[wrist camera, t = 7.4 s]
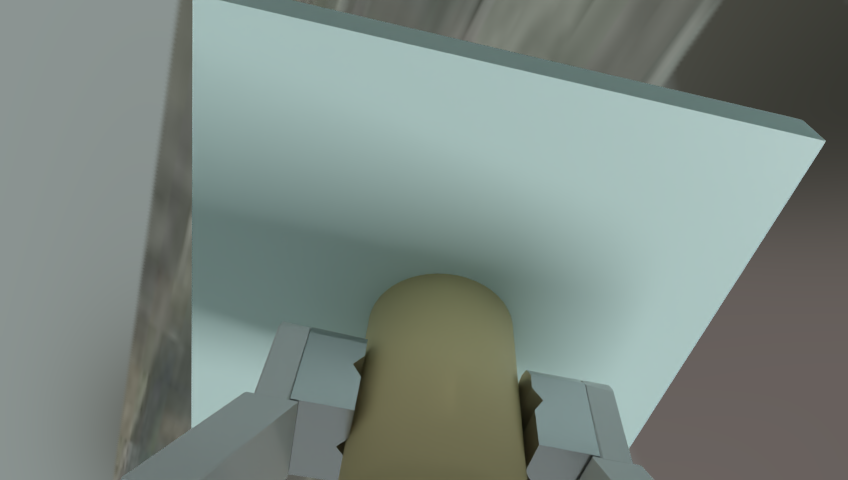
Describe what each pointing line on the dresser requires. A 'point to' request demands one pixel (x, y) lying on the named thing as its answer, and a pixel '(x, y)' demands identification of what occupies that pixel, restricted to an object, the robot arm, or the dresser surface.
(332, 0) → the dresser surface
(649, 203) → the lid
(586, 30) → the dresser surface
